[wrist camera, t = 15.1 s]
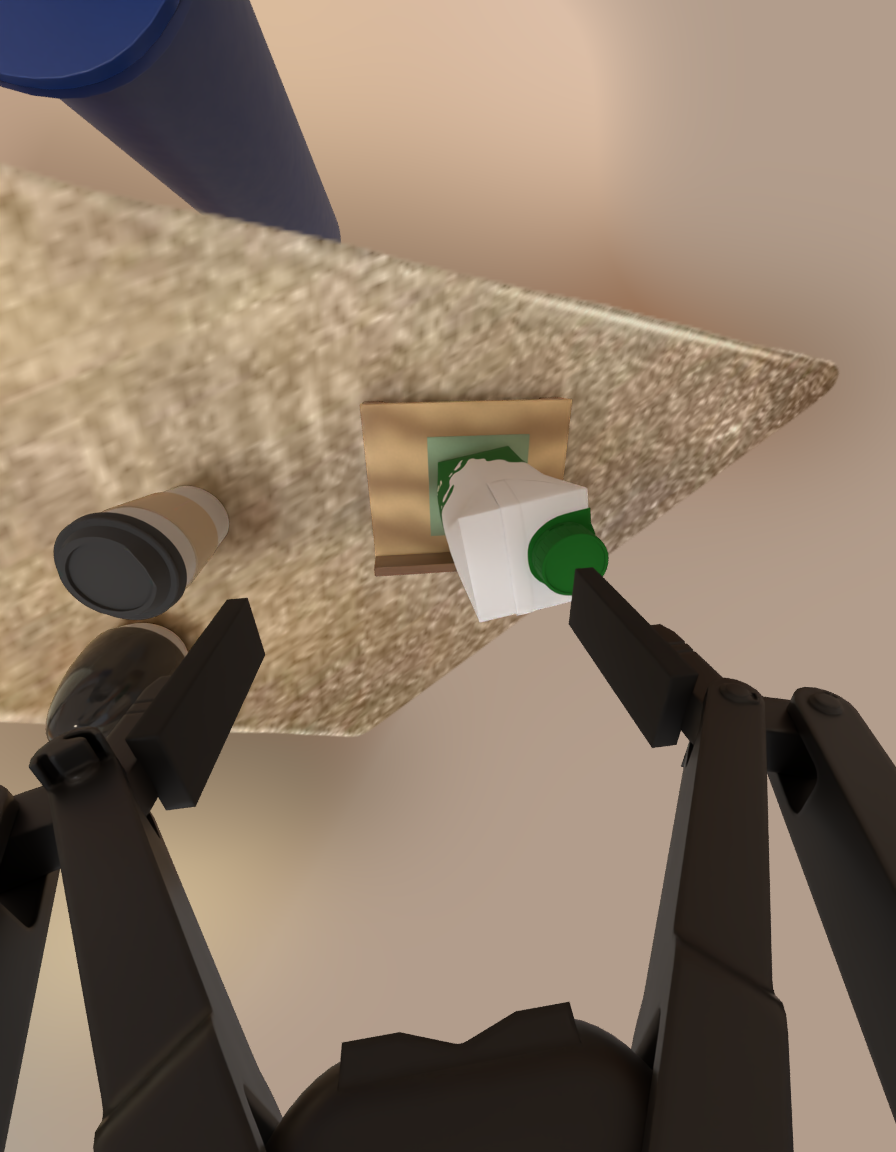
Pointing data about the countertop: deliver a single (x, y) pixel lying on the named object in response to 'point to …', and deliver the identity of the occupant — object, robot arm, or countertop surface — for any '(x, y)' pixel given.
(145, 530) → the coffee cup
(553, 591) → the soya milk
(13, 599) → the countertop surface
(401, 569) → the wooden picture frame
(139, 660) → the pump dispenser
